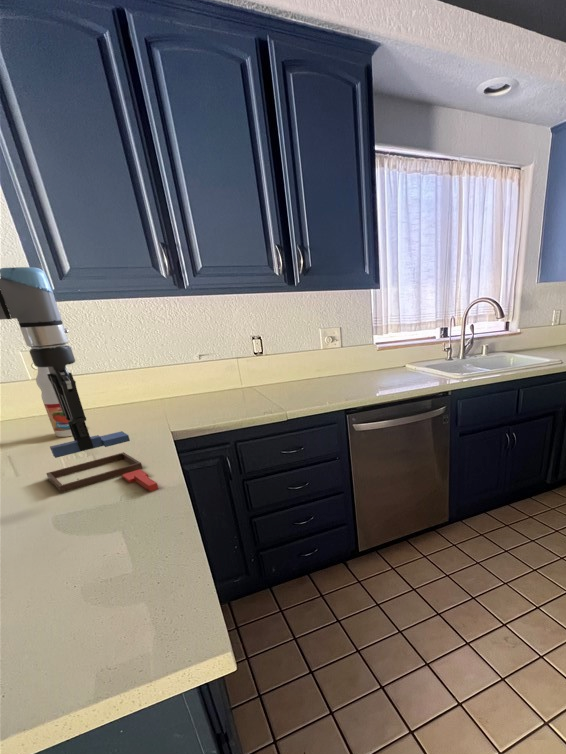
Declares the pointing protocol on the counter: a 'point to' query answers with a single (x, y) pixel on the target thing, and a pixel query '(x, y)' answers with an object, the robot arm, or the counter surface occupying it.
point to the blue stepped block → (96, 441)
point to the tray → (97, 478)
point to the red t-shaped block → (141, 479)
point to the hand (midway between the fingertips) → (85, 447)
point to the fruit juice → (52, 404)
